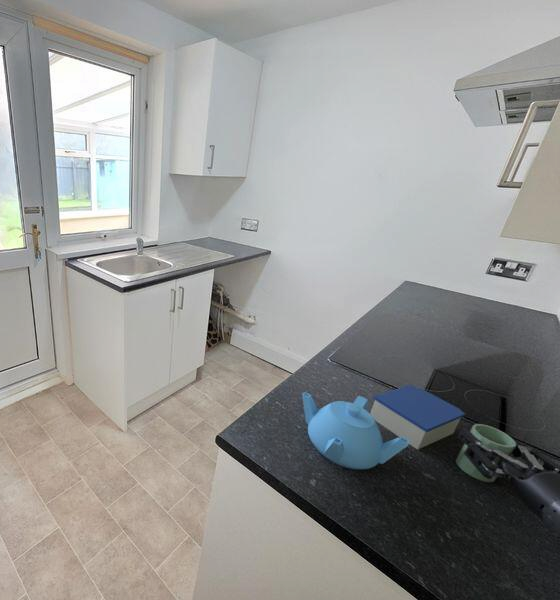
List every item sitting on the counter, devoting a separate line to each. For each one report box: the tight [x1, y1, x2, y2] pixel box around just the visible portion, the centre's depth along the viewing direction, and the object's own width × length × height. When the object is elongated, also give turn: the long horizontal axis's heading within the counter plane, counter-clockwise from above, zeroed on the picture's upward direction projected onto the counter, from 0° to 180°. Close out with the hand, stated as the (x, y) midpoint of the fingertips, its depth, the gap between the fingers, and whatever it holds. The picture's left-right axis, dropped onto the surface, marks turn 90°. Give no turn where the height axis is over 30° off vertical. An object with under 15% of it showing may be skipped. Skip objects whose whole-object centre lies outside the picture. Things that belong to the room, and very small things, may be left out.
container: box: [369, 384, 466, 450], centre depth 75 cm, size 16×12×6 cm
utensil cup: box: [455, 423, 517, 483], centre depth 62 cm, size 6×6×9 cm
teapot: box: [301, 391, 410, 470], centre depth 65 cm, size 15×15×11 cm
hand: (478, 433), depth 64 cm, fingers closed on utensil cup, 6 cm apart
